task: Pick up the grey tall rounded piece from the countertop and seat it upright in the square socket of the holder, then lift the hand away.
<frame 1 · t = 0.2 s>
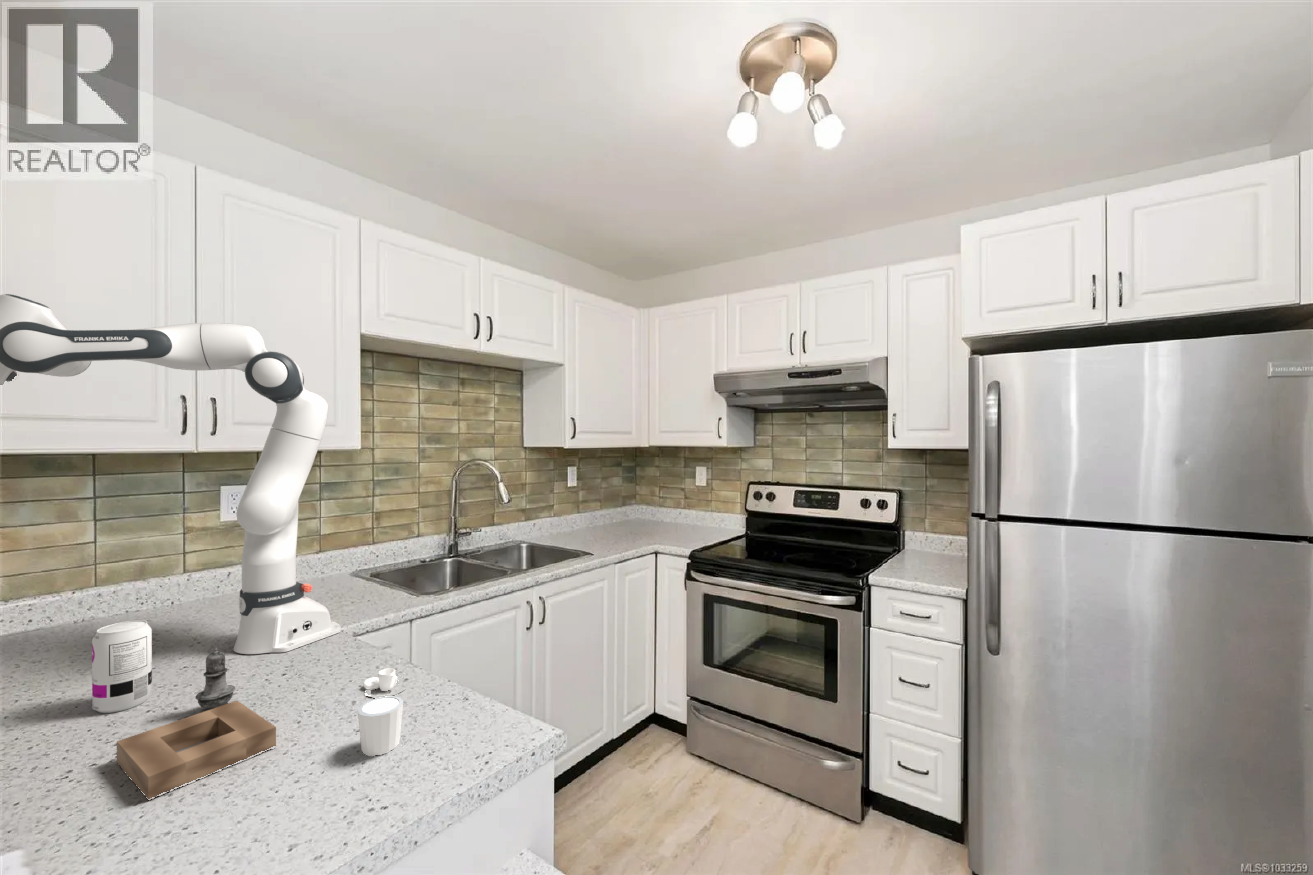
teacup and saucer: (390, 685, 115), on the countertop
holder: (198, 755, 89), on the countertop
grey tall rounded piece: (215, 712, 103), on the countertop
white cylinder: (380, 747, 92), on the countertop
supplement can: (123, 705, 106), on the countertop
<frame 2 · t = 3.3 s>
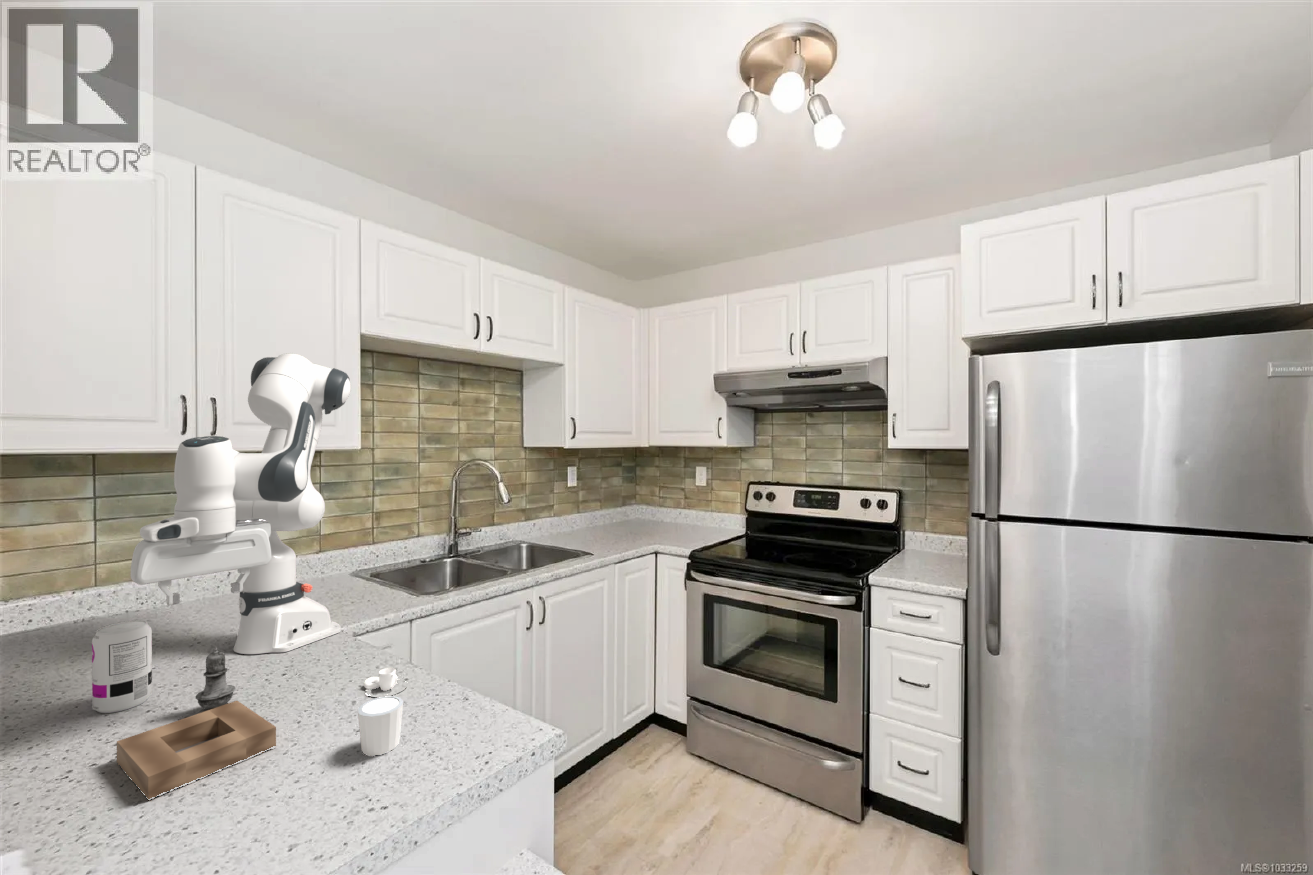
hand: (206, 598, 102), 22 cm above the countertop, tool pointing down, fingers open, 8 cm apart
nothing on the countertop moved.
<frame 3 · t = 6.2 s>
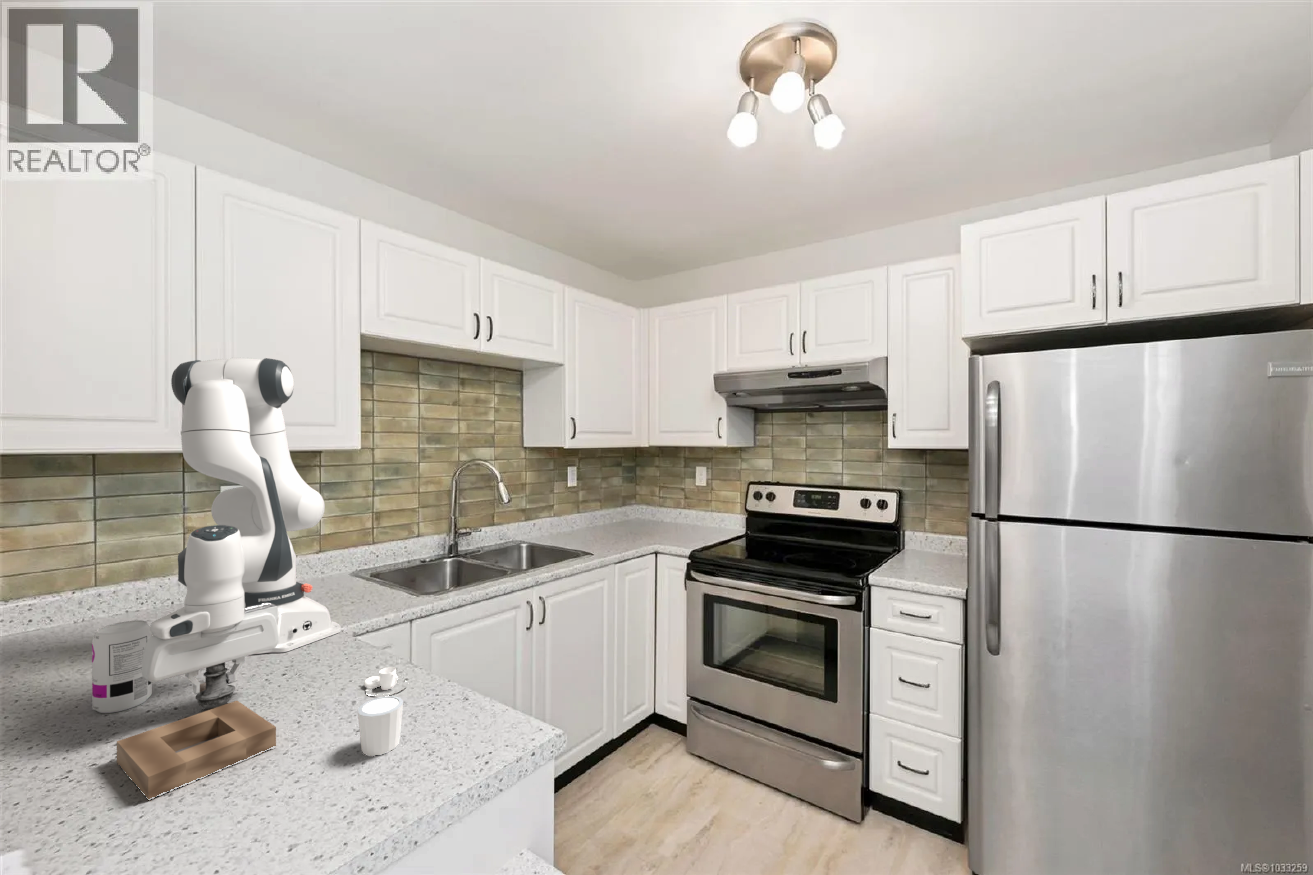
hand: (215, 687, 103), 5 cm above the countertop, tool pointing down, fingers closed on grey tall rounded piece, 3 cm apart
grey tall rounded piece: (215, 712, 103), on the countertop, touching gripper
everything else where it was.
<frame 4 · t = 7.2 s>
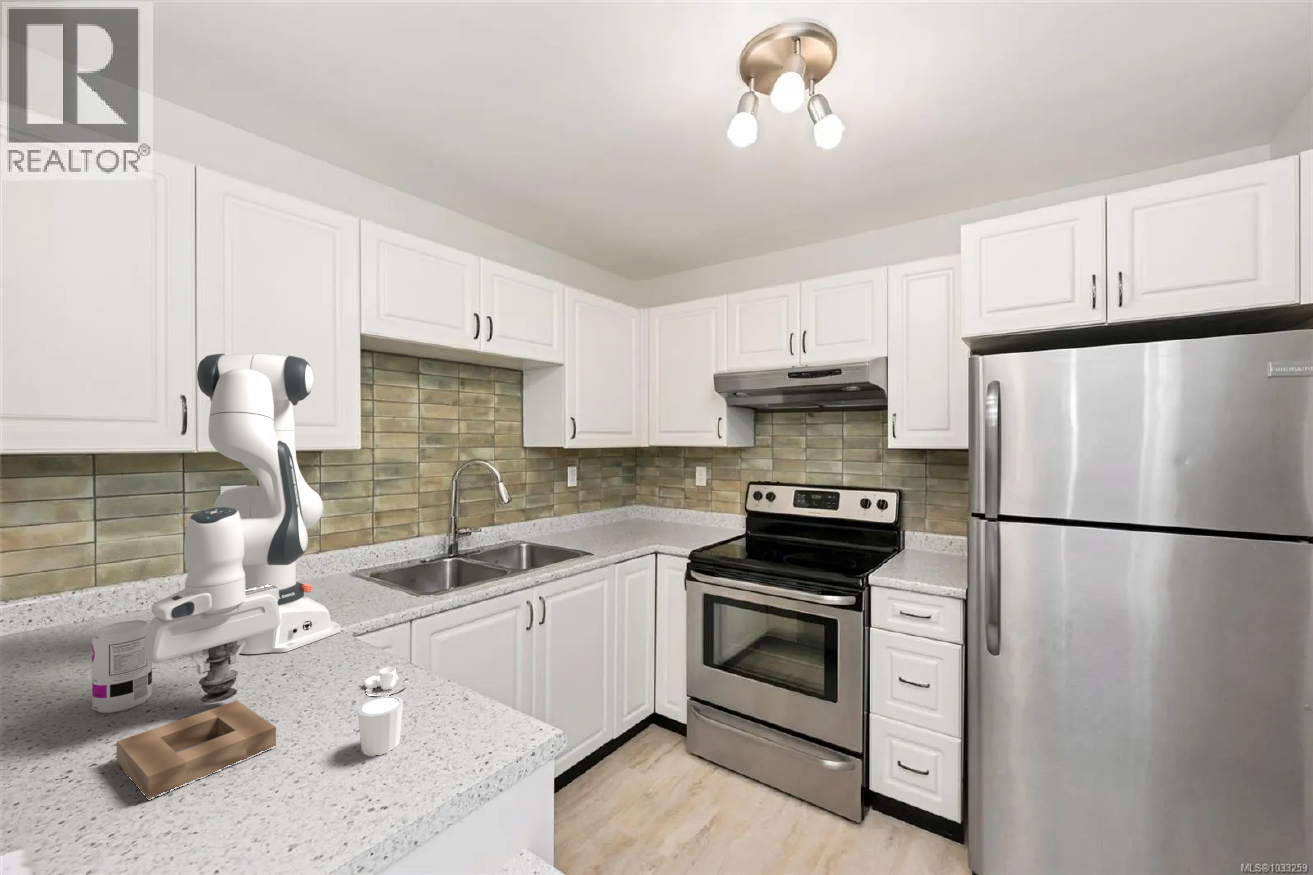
hand: (218, 667, 104), 8 cm above the countertop, tool pointing down, fingers closed on grey tall rounded piece, 3 cm apart
grey tall rounded piece: (219, 696, 104), point 2 cm above the countertop, touching gripper
everything else where it was.
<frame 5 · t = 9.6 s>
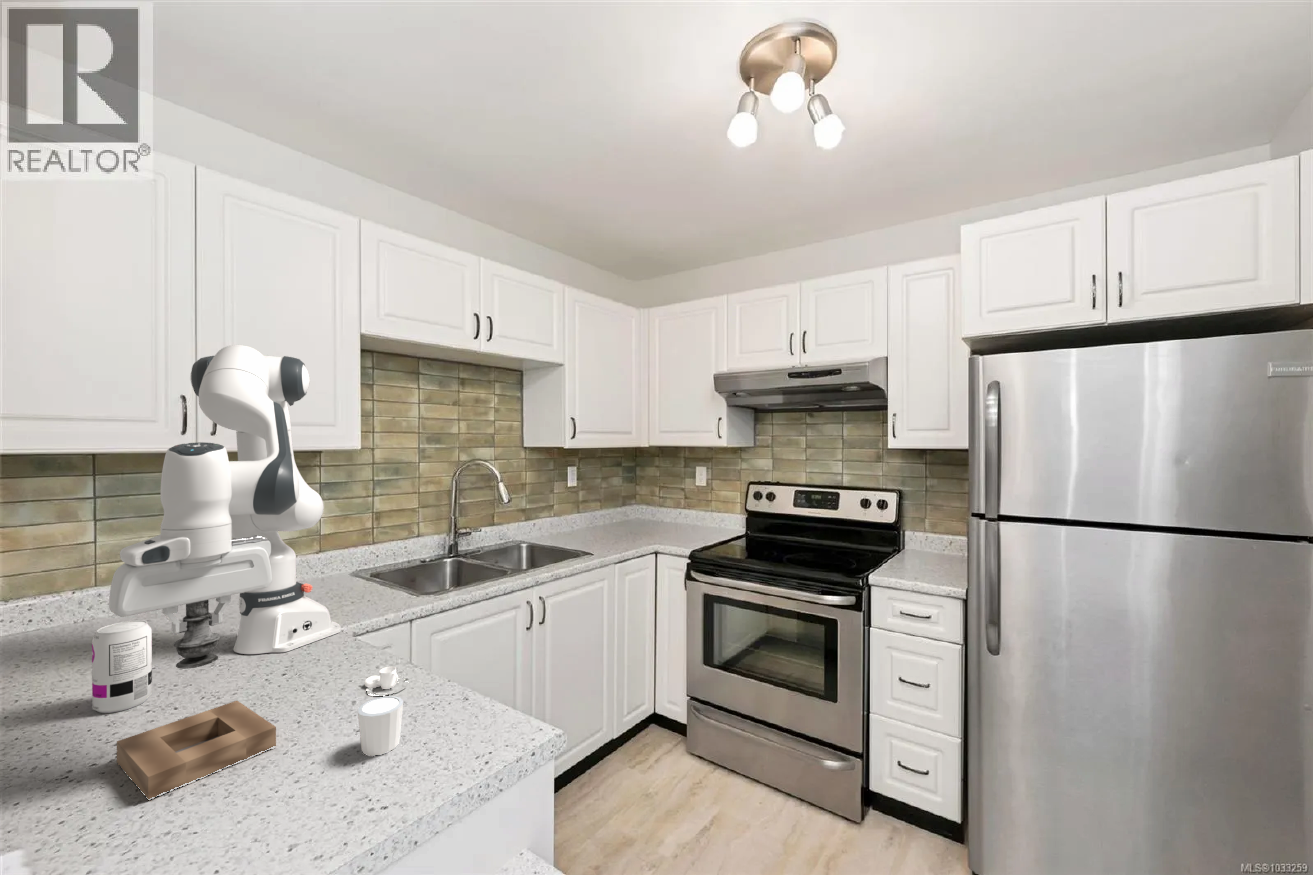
hand: (197, 628, 89), 21 cm above the countertop, tool pointing down, fingers closed on grey tall rounded piece, 3 cm apart
grey tall rounded piece: (197, 663, 89), point 15 cm above the countertop, touching gripper
everything else where it was.
when the fingers open (6 cm above the countertop, at t = 12.3 s): grey tall rounded piece stays where it is, resting on holder.
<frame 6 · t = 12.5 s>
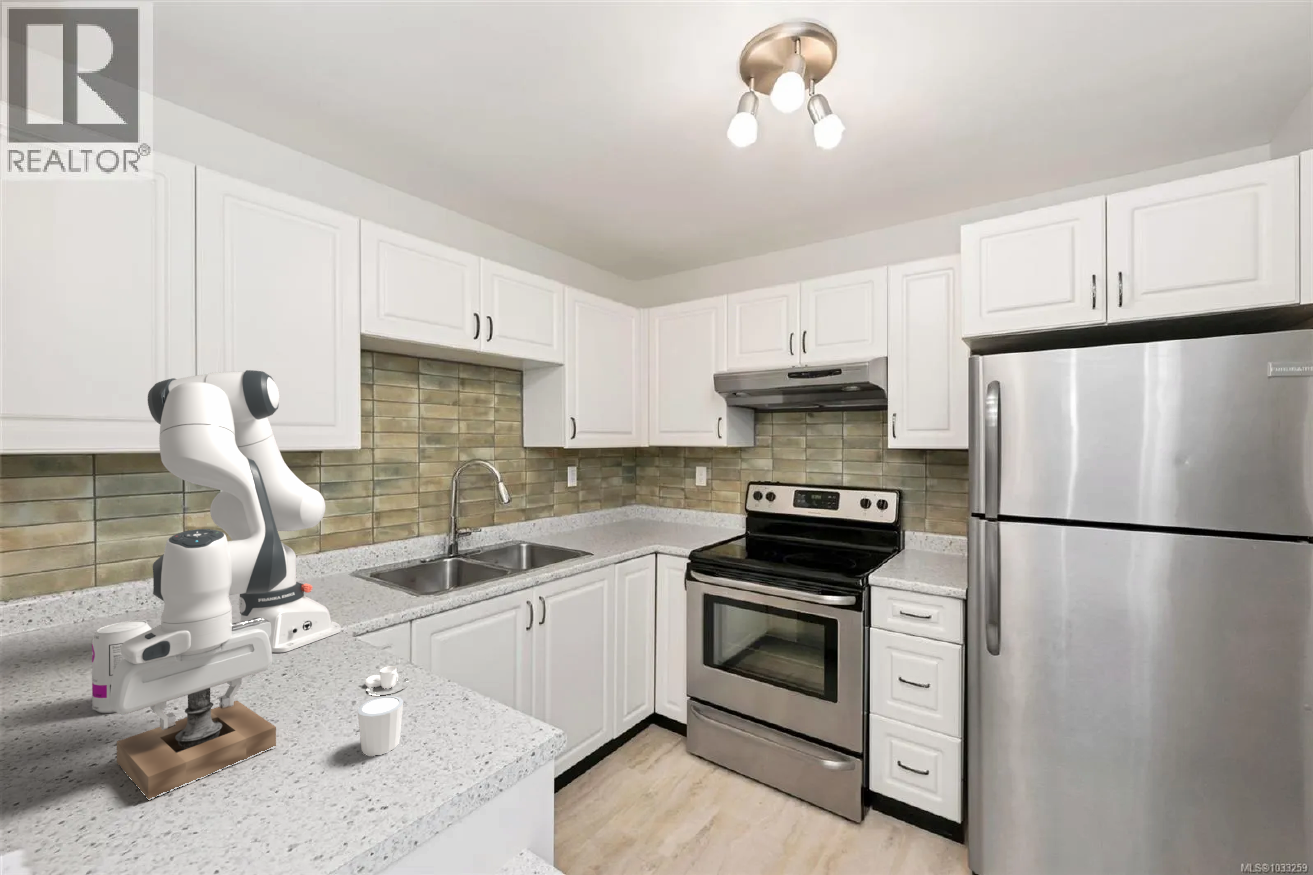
hand: (198, 716, 89), 6 cm above the countertop, tool pointing down, fingers open, 6 cm apart
grey tall rounded piece: (199, 754, 89), resting on holder
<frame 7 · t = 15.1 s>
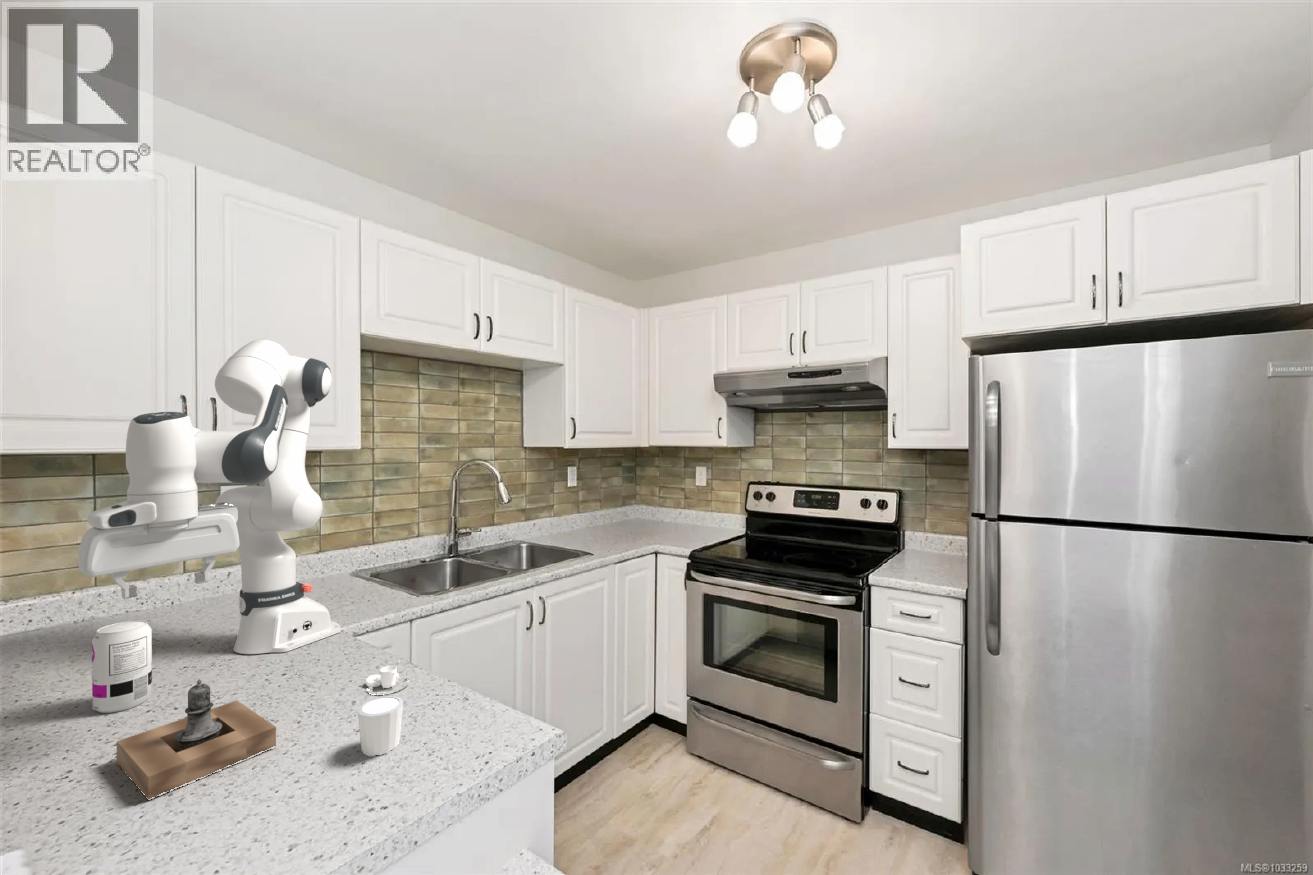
hand: (167, 589, 93), 26 cm above the countertop, tool pointing down, fingers open, 8 cm apart
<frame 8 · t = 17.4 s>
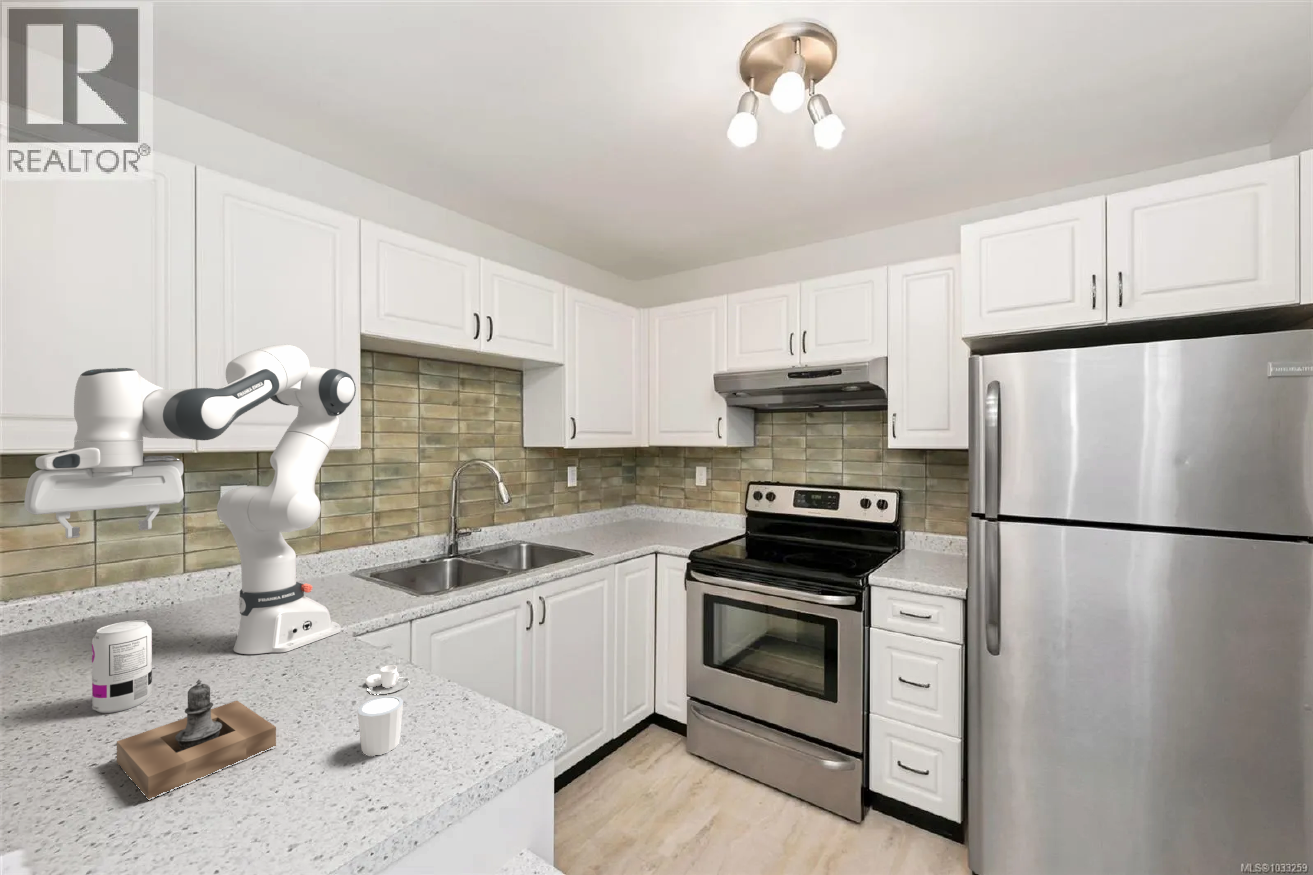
hand: (110, 533, 99), 34 cm above the countertop, tool pointing down, fingers open, 8 cm apart
at the end: grey tall rounded piece 0.2 cm off-centre on the holder, point 0.1 cm above the holder's base; grey tall rounded piece tilted 0°; the gripper is holding nothing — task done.
